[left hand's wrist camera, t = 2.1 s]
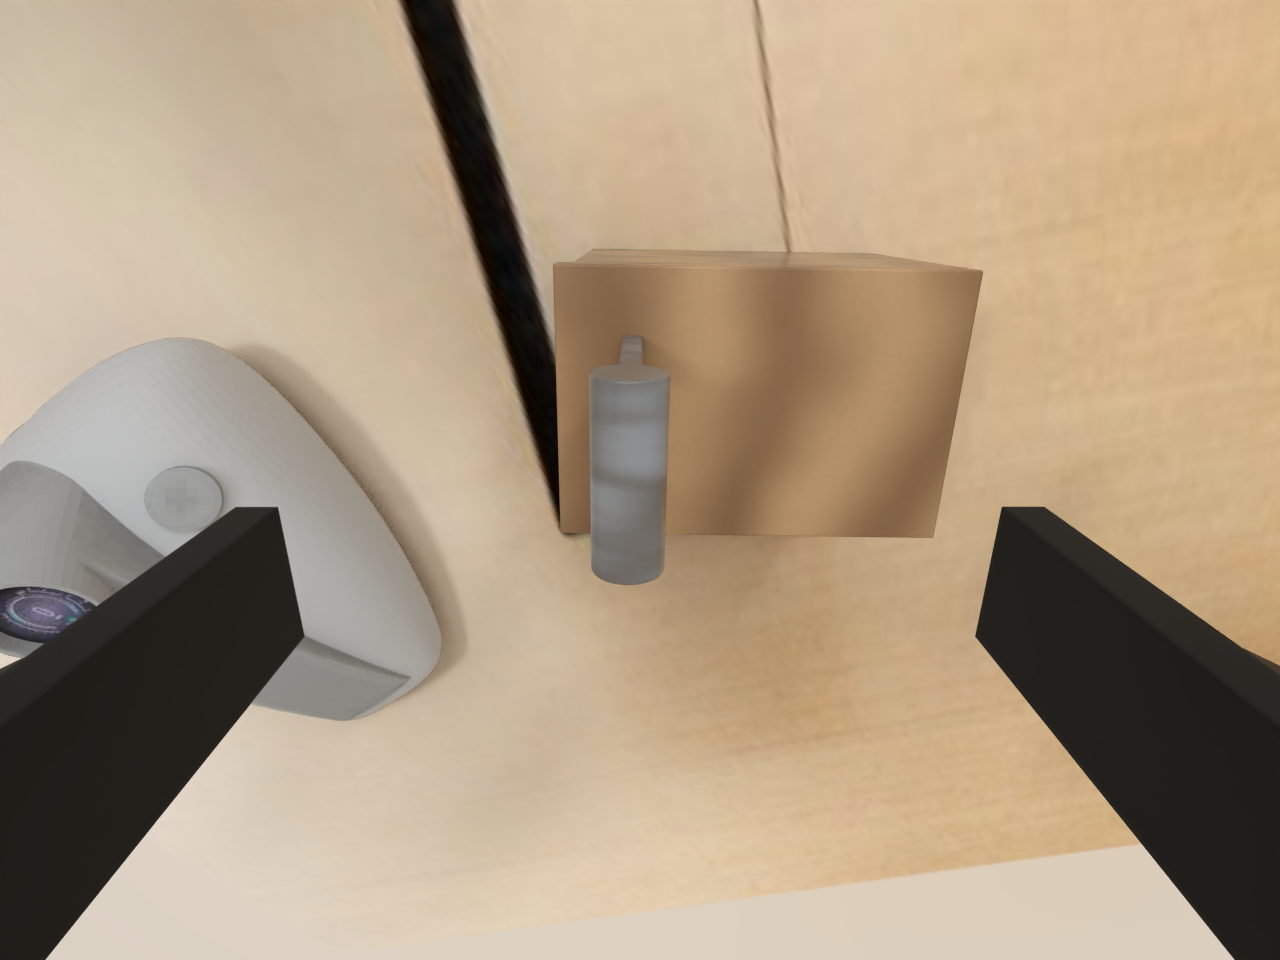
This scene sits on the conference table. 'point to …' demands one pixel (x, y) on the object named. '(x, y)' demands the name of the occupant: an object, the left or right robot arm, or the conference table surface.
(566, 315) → the lid
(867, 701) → the conference table surface
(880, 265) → the chest
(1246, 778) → the left robot arm
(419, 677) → the projector
